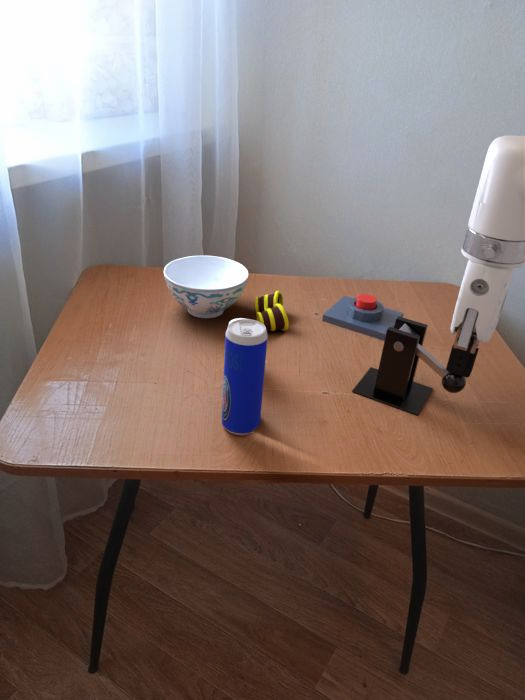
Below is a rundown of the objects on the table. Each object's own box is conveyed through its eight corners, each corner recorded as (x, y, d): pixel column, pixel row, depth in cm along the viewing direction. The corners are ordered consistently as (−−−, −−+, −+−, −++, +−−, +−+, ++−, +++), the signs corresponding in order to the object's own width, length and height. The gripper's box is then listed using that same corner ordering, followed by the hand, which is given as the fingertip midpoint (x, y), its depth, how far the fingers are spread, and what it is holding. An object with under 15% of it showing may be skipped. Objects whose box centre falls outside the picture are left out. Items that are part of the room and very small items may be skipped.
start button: (378, 306, 102) (379, 297, 101) (371, 313, 100) (373, 304, 99) (359, 300, 104) (361, 292, 103) (352, 307, 101) (353, 298, 100)
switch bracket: (431, 394, 85) (450, 326, 79) (416, 421, 79) (435, 350, 73) (369, 372, 89) (383, 306, 83) (350, 397, 83) (364, 327, 77)
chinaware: (168, 331, 96) (167, 290, 92) (161, 293, 108) (160, 256, 104) (253, 327, 99) (256, 287, 95) (237, 291, 112) (239, 254, 108)
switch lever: (457, 390, 80) (473, 377, 78) (451, 401, 78) (468, 388, 76) (394, 334, 82) (408, 319, 79) (386, 343, 79) (401, 328, 77)
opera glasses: (256, 313, 106) (252, 290, 103) (283, 309, 106) (281, 285, 103) (260, 339, 97) (256, 314, 95) (290, 335, 97) (287, 310, 95)
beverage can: (223, 411, 78) (227, 316, 70) (260, 414, 78) (268, 319, 70) (219, 435, 73) (223, 336, 66) (258, 438, 73) (267, 339, 66)
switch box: (401, 323, 105) (405, 304, 103) (384, 345, 97) (388, 325, 95) (342, 305, 110) (345, 286, 108) (321, 325, 102) (324, 305, 100)
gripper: (519, 272, 61) (474, 408, 70) (536, 236, 72) (495, 357, 82) (450, 255, 64) (416, 388, 73) (476, 223, 75) (444, 341, 84)
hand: (458, 371), depth 77 cm, fingers closed
